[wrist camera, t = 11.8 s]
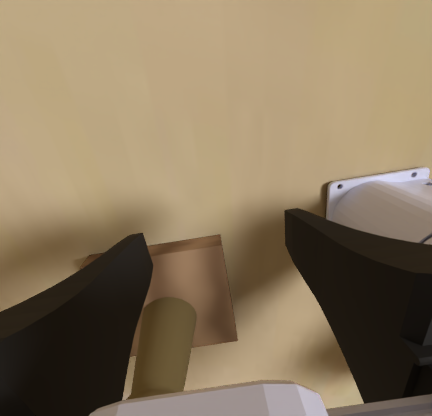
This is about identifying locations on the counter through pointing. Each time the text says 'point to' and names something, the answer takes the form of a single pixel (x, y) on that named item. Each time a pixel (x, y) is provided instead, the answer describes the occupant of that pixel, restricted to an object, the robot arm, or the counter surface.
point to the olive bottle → (163, 347)
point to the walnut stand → (192, 286)
